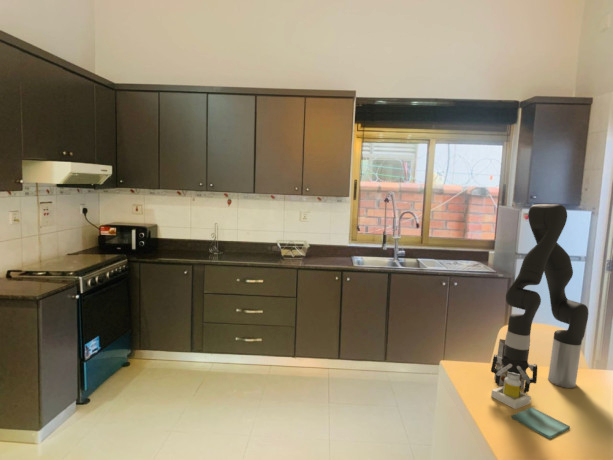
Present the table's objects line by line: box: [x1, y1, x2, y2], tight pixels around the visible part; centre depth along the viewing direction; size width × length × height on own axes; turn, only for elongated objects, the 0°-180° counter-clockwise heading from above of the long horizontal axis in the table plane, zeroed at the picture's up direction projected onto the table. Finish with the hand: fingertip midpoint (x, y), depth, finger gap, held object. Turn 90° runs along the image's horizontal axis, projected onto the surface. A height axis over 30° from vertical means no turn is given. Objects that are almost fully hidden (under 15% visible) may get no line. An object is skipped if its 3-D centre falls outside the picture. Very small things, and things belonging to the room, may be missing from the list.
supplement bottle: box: [502, 372, 522, 400], centre depth 139 cm, size 5×5×10 cm
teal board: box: [510, 406, 571, 440], centre depth 126 cm, size 12×12×1 cm
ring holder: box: [490, 385, 532, 410], centre depth 139 cm, size 9×9×2 cm
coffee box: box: [494, 338, 530, 389], centre depth 152 cm, size 9×6×16 cm
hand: (511, 388), depth 139 cm, fingers open, 8 cm apart
